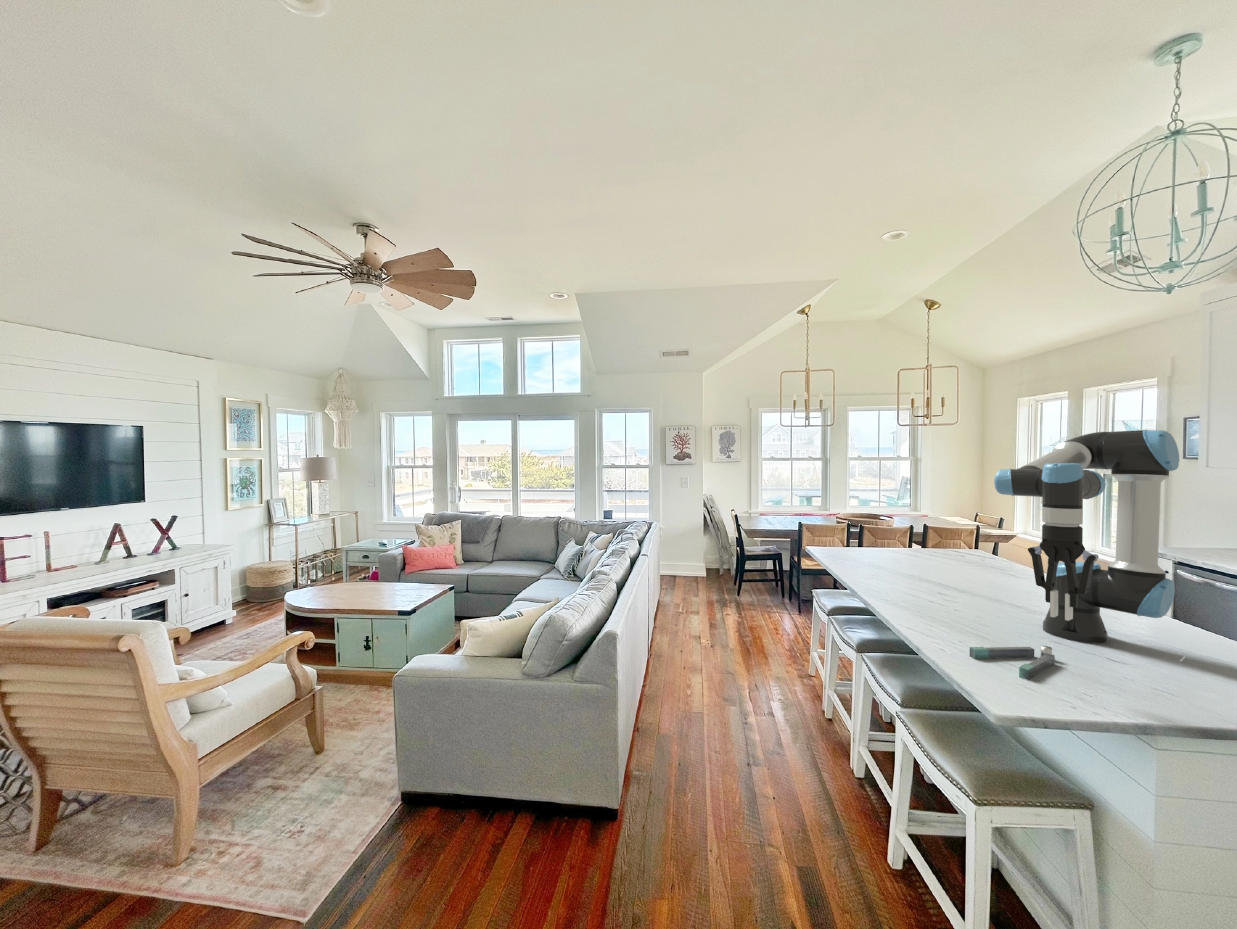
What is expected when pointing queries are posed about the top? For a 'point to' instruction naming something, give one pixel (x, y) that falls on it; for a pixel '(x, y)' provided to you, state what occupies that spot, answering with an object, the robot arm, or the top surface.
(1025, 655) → the arm
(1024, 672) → the tongs free arm
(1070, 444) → the robot arm
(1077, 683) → the top surface
